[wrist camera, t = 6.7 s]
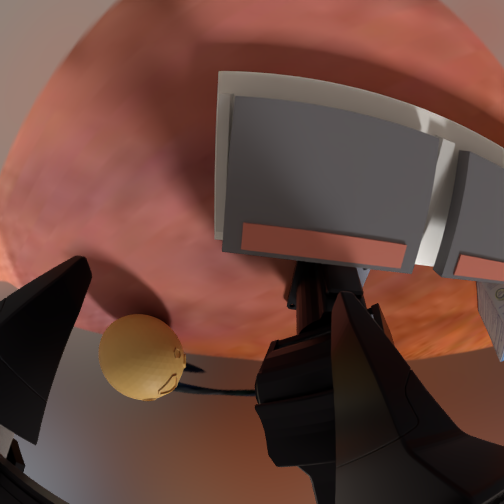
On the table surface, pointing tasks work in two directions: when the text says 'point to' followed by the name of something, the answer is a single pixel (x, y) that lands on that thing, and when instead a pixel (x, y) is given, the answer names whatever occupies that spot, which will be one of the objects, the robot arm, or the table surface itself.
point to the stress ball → (141, 357)
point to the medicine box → (492, 313)
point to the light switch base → (358, 102)
